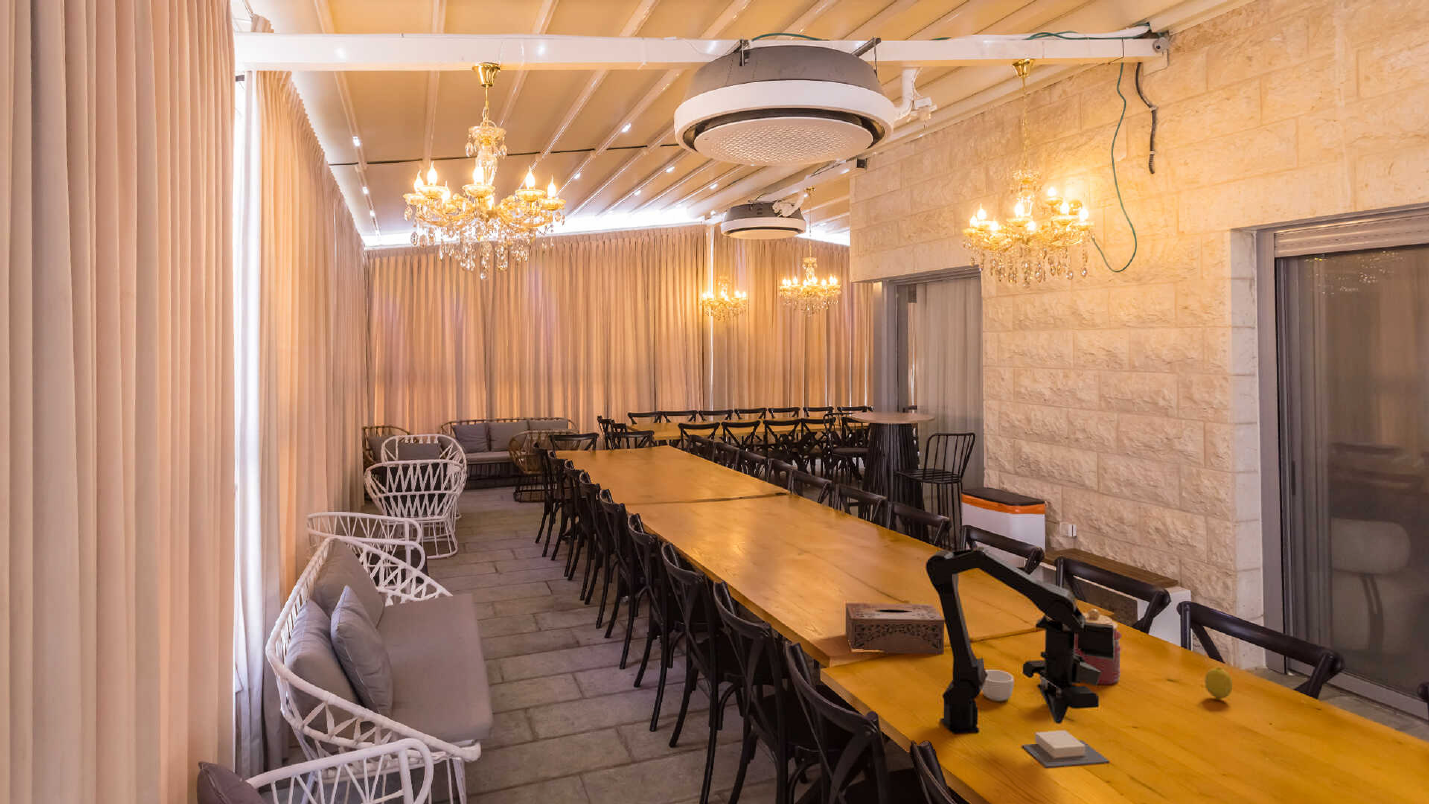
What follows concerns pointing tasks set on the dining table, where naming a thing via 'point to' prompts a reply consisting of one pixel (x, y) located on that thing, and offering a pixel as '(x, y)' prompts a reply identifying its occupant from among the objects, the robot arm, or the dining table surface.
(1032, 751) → the mat
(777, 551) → the dining table surface
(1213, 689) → the lemon
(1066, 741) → the block
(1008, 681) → the teacup
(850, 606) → the tissue box cover
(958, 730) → the robot arm
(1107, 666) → the canister
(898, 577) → the dining table surface
